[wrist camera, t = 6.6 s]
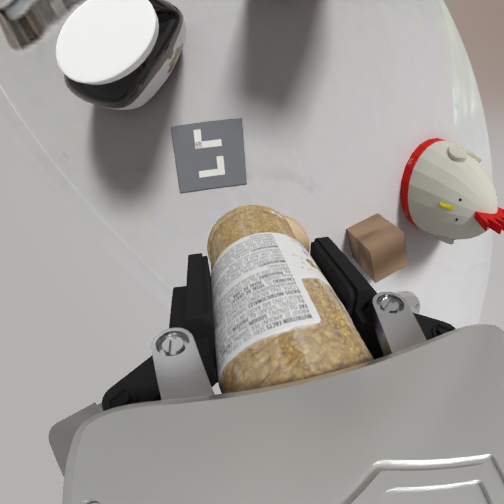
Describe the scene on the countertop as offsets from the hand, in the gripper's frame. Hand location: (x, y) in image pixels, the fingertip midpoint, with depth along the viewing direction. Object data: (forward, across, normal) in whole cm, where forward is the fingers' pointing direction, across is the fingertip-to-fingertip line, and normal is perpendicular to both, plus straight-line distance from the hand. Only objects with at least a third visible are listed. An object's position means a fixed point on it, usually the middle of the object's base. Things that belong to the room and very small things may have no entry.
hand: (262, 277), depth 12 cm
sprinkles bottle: (+3, 0, 0) cm, 3 cm away
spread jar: (+19, +9, -15) cm, 26 cm away
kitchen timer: (+19, -30, +2) cm, 35 cm away
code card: (+19, +2, -2) cm, 19 cm away
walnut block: (+19, -18, +9) cm, 28 cm away
